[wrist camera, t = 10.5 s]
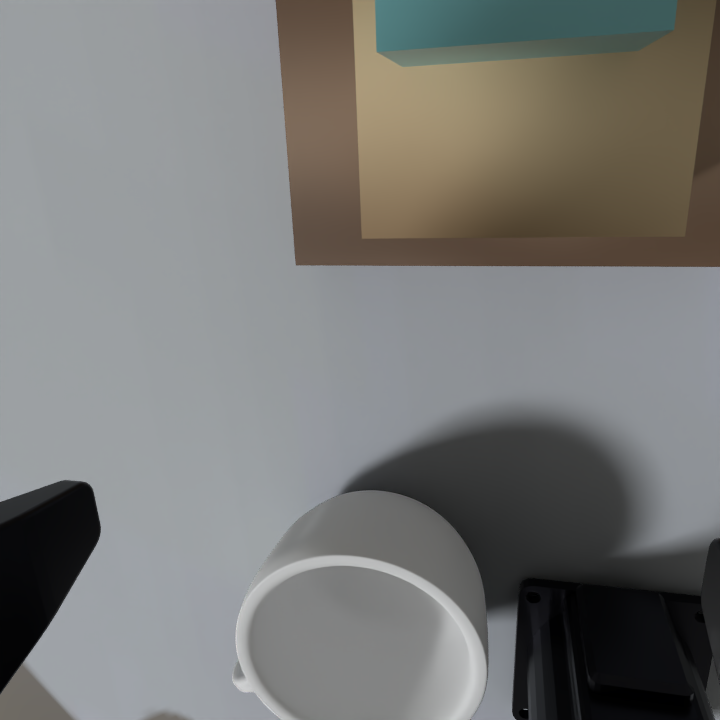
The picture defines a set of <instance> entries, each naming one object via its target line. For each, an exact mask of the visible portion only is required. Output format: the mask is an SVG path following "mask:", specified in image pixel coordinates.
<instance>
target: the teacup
mask: <svg viewBox="0 0 720 720" xmlns="http://www.w3.org/2000/svg"><path fill="white" fill-rule="evenodd" d="M236 650H237V655H238V660H237V662H236V664H235V667H234V670H233V674H232V680H233V683H234V684H235V685H236V687H237V688H238V689H239V690H240V691H242V692H244V693H250V692H255V693H256V695H257V696H258V697H259V699H260V700H261V701H262V702H263V703H264V704H265V705H266V706H267V707H268V708H269V709H270V710H271V711H272V712H273V713H274V714H275V715H276V716H277V717H279V718H280V719H281V720H470V719H471V718H472V717H473V715H474V714H475V712H476V711H477V709H478V707H479V705H480V703H481V701H482V699H483V696H484V693H485V689H486V685H487V677H488V628H487V614H486V603H485V594H484V588H483V583H482V579H481V575H480V572H479V569H478V567H477V564H476V562H475V560H474V558H473V556H472V554H471V552H470V550H469V548H468V547H467V545H466V544H465V542H464V541H463V539H462V538H461V536H460V535H459V534H458V532H457V531H456V530H455V529H454V528H453V527H452V525H451V524H450V523H449V522H448V521H447V520H445V519H444V518H443V517H442V516H441V515H440V514H438V513H437V512H436V511H434V510H433V509H431V508H430V507H428V506H426V505H425V504H423V503H421V502H419V501H417V500H415V499H412V498H410V497H407V496H404V495H401V494H397V493H393V492H387V491H377V490H365V491H355V492H350V493H345V494H342V495H338V496H336V497H333V498H331V499H329V500H327V501H325V502H323V503H321V504H319V505H318V506H316V507H315V508H313V509H312V510H310V511H309V512H307V513H306V514H304V515H303V516H302V517H301V518H299V519H298V520H297V521H296V522H295V523H294V524H293V525H292V526H291V527H290V528H289V529H288V530H287V532H286V533H285V534H284V535H283V537H282V538H281V539H280V541H279V542H278V543H277V545H276V546H275V548H274V549H273V550H272V552H271V553H270V555H269V556H268V557H267V559H266V560H265V562H264V563H263V565H262V566H261V568H260V569H259V571H258V573H257V574H256V576H255V578H254V579H253V581H252V583H251V585H250V587H249V589H248V591H247V594H246V596H245V598H244V601H243V604H242V607H241V610H240V613H239V616H238V620H237V625H236Z"/></svg>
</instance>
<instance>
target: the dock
mask: <svg viewBox="0 0 720 720" xmlns="http://www.w3.org/2000/svg"><path fill="white" fill-rule="evenodd" d="M276 9H277V22H278V36H279V49H280V62H281V75H282V88H283V102H284V115H285V128H286V141H287V155H288V168H289V181H290V194H291V208H292V221H293V234H294V247H295V261H296V265H372V266H660V267H720V0H717V1H716V8H715V15H714V23H713V30H712V38H711V45H710V53H709V60H708V68H707V75H706V83H705V90H704V98H703V105H702V113H701V120H700V128H699V135H698V143H697V150H696V158H695V165H694V172H693V180H692V187H691V195H690V202H689V210H688V217H687V225H686V232H685V237H538V238H379V239H362V231H361V205H360V180H359V154H358V129H357V104H356V78H355V53H354V28H353V2H352V0H276Z"/></svg>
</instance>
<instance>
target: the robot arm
mask: <svg viewBox="0 0 720 720" xmlns="http://www.w3.org/2000/svg"><path fill="white" fill-rule="evenodd" d="M100 532H101V526H100V520H99V516H98V511H97V506H96V501H95V497H94V492H93V489H92V487H91V486H90V485H89V484H88V483H86V482H81V481H70V480H63V481H59V482H56V483H54V484H51V485H48V486H45V487H42V488H39V489H36V490H34V491H31V492H28V493H25V494H22V495H19V496H16V497H13V498H11V499H8V500H5V501H2V502H0V694H1V692H2V691H3V689H4V688H5V687H6V685H7V684H8V683H9V681H10V680H11V678H12V677H13V676H14V674H15V673H16V671H17V670H18V669H19V667H20V666H21V664H22V663H23V662H24V660H25V659H26V657H27V656H28V655H29V653H30V652H31V650H32V649H33V648H34V646H35V645H36V643H37V642H38V641H39V639H40V638H41V636H42V635H43V633H44V632H45V630H46V629H47V627H48V626H49V624H50V623H51V621H52V619H53V618H54V616H55V615H56V613H57V611H58V610H59V608H60V606H61V604H62V603H63V601H64V599H65V598H66V596H67V594H68V592H69V591H70V589H71V587H72V586H73V584H74V582H75V580H76V579H77V577H78V575H79V574H80V572H81V570H82V568H83V567H84V565H85V563H86V562H87V560H88V558H89V556H90V555H91V553H92V551H93V550H94V548H95V546H96V544H97V542H98V540H99V537H100ZM529 592H536V593H538V595H536V596H532V595H529V594H528V593H529ZM699 611H703V614H696V613H697V612H699ZM712 654H713V658H714V662H715V666H716V671H717V675H718V679H719V683H720V538H716V539H714V540H713V541H712V542H711V544H710V546H709V550H708V556H707V562H706V567H705V573H704V578H703V584H702V590H701V596H692V595H683V594H674V593H664V592H655V591H645V590H636V589H627V588H617V587H608V586H599V585H589V584H580V583H571V582H561V581H552V580H542V579H526V580H524V581H523V582H522V583H521V584H520V586H519V590H518V608H517V626H516V644H515V662H514V680H513V698H512V713H513V716H514V717H515V719H516V720H715V718H714V715H713V712H712V710H711V707H710V704H709V701H708V698H707V695H706V693H705V691H706V685H707V680H708V675H709V670H710V665H711V659H712ZM524 709H528V710H524Z"/></svg>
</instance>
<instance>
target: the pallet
mask: <svg viewBox="0 0 720 720" xmlns="http://www.w3.org/2000/svg"><path fill="white" fill-rule="evenodd" d="M716 1H717V0H677V9H676V18H675V27H674V30H673V31H672V32H670V33H668V34H666V35H665V36H663V37H661V38H660V39H658V40H656V41H654V42H653V43H651V44H649V45H647V46H646V47H644V48H642V49H641V50H639V51H631V52H616V53H602V54H587V55H572V56H558V57H543V58H528V59H513V60H499V61H484V62H469V63H455V64H440V65H425V66H411V67H402V66H400V65H398V64H396V63H395V62H393V61H391V60H390V59H388V58H386V57H384V56H383V55H381V54H379V53H377V51H376V18H375V0H352V2H353V28H354V53H355V78H356V104H357V129H358V154H359V180H360V205H361V231H362V239H379V238H538V237H685V232H686V225H687V217H688V210H689V202H690V195H691V187H692V180H693V172H694V165H695V158H696V150H697V143H698V135H699V128H700V120H701V113H702V105H703V98H704V90H705V83H706V75H707V68H708V60H709V53H710V45H711V38H712V30H713V23H714V15H715V8H716Z"/></svg>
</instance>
